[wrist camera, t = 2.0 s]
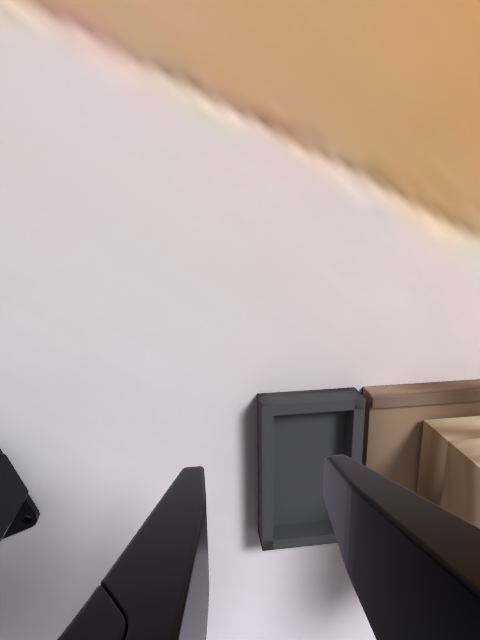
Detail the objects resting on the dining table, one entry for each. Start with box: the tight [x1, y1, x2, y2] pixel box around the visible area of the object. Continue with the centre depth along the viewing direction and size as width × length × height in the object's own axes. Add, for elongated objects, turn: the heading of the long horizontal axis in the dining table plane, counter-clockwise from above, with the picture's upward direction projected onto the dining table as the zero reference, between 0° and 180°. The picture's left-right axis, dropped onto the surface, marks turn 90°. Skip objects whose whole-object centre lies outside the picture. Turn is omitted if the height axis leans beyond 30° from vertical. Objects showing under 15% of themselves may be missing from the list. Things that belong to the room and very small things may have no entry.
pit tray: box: [257, 387, 366, 551], centre depth 23 cm, size 6×9×2 cm, turn 1°
